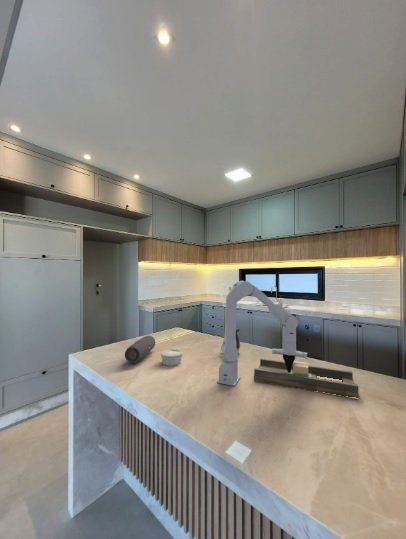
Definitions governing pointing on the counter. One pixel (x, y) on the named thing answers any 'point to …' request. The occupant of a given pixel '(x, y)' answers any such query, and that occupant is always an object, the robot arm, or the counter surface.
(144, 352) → the bluetooth speaker
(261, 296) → the robot arm
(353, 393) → the walled deck
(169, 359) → the ramekin
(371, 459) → the counter surface
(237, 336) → the pump dispenser
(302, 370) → the maple block
